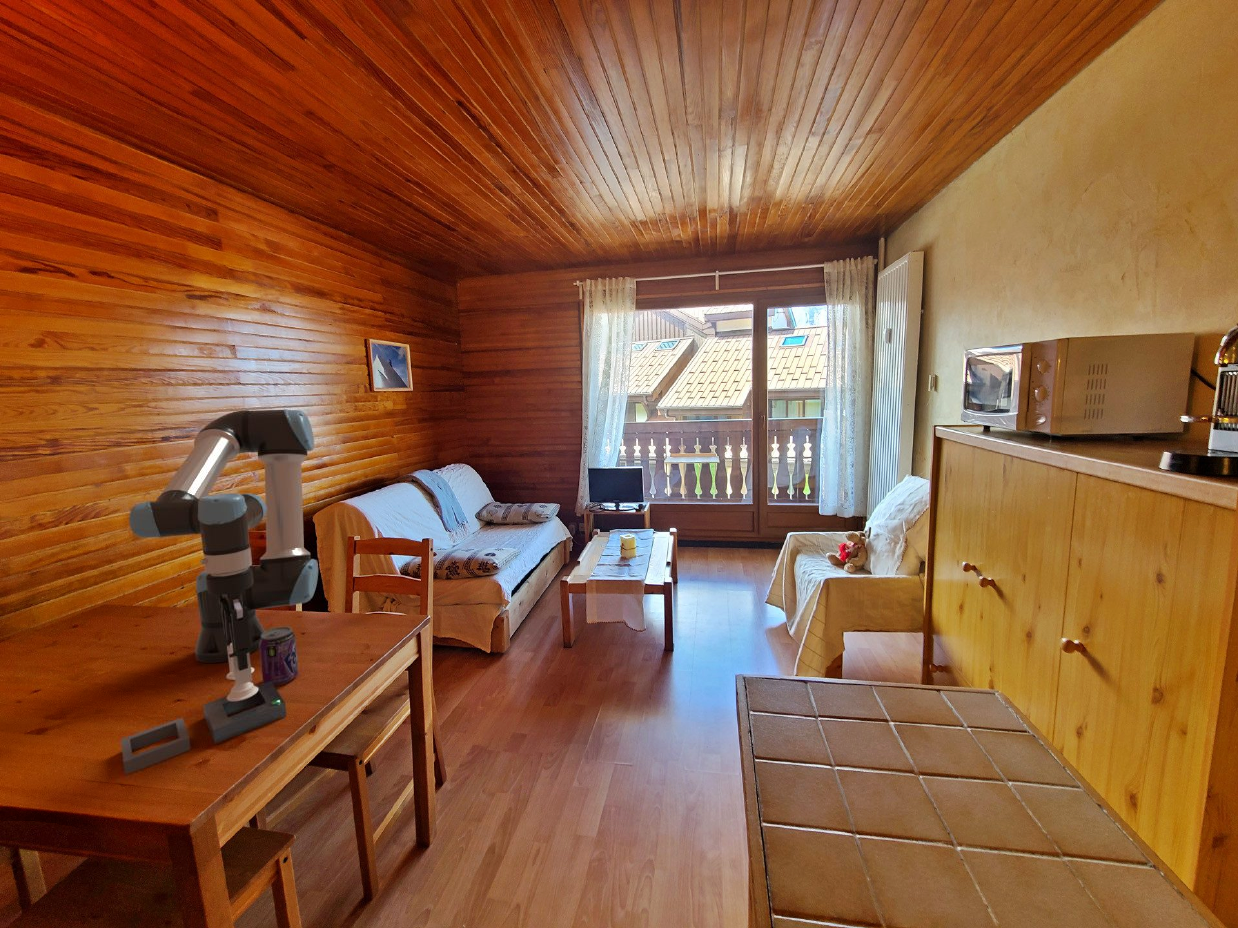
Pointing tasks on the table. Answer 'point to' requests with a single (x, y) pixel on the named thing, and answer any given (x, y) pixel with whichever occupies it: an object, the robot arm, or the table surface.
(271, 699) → the port block
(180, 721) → the grey square frame
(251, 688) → the candle
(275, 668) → the beverage can
